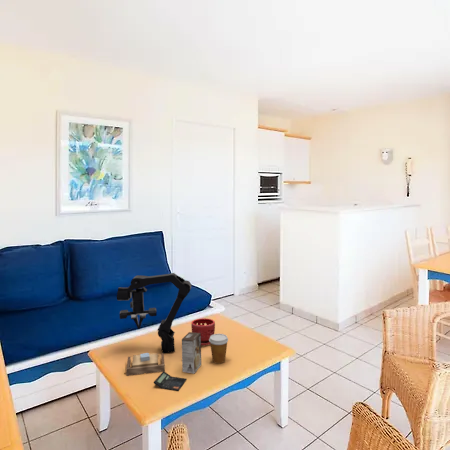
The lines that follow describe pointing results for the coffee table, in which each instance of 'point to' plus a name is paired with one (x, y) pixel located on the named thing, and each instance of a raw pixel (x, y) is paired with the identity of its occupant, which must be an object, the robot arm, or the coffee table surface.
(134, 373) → the dock bay
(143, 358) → the light blue square block
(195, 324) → the plant pot
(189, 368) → the coffee box
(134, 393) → the coffee table surface
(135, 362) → the beige rectangular block
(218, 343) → the disposable coffee cup
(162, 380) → the calculator
